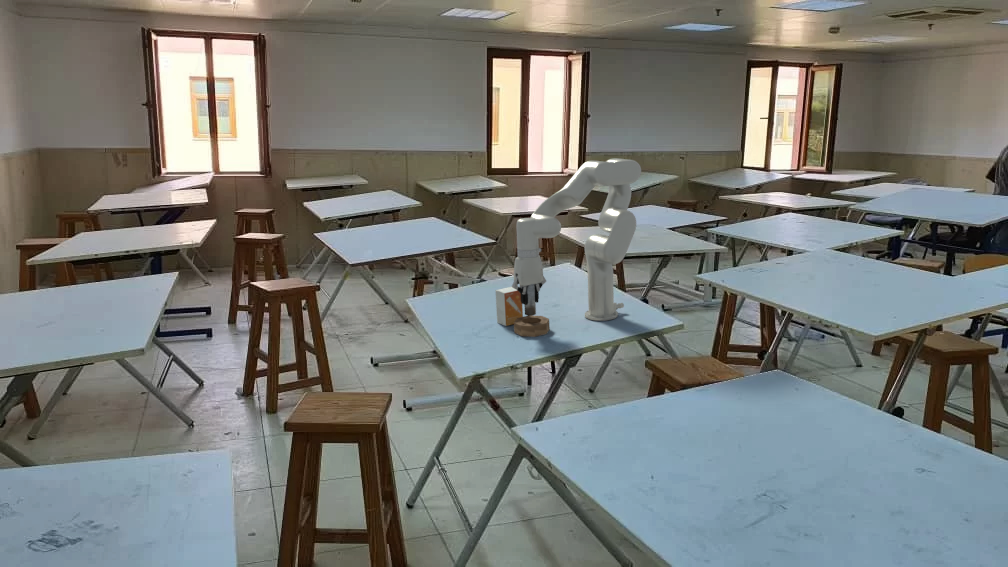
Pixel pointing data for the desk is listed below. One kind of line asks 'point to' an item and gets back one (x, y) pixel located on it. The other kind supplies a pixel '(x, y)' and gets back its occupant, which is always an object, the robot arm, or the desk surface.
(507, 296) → the small box
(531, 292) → the peg
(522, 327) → the brown octagonal ring
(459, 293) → the desk surface
